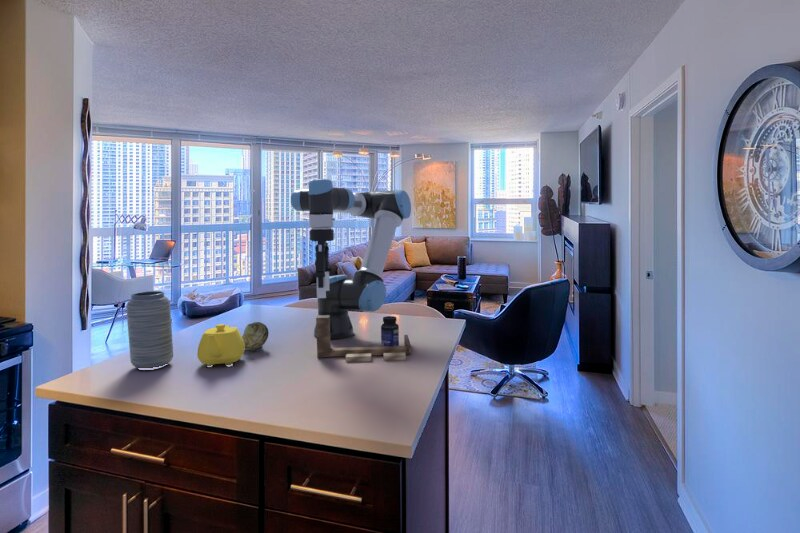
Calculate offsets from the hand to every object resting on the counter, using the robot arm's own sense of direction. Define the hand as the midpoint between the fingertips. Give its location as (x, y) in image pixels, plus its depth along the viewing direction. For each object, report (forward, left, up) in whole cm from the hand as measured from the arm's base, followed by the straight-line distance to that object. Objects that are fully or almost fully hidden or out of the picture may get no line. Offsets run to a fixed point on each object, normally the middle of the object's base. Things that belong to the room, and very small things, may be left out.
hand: (323, 294), depth 143 cm
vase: (-26, -46, -21) cm, 57 cm away
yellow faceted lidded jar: (-14, -29, -21) cm, 38 cm away
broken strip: (+14, +12, -21) cm, 28 cm away
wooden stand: (+3, +13, -20) cm, 25 cm away
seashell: (-24, -14, -21) cm, 35 cm away
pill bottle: (+7, +21, -21) cm, 31 cm away
